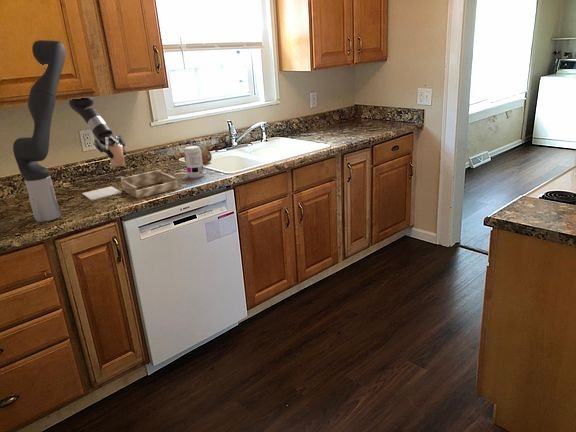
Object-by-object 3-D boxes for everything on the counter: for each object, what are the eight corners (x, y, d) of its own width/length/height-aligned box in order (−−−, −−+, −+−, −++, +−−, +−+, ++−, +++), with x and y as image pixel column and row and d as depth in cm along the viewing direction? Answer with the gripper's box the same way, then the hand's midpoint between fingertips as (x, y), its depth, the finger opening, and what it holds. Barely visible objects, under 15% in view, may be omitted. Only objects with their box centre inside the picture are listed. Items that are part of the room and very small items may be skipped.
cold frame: (137, 198, 203) (135, 185, 201) (123, 190, 216) (120, 178, 214) (178, 188, 214) (176, 175, 212) (162, 180, 228) (160, 169, 225)
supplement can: (185, 178, 230) (180, 149, 224) (192, 173, 237) (188, 145, 232) (199, 178, 227) (195, 149, 222) (206, 173, 235) (203, 145, 229)
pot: (115, 166, 207) (112, 147, 203) (108, 164, 210) (105, 145, 207) (127, 164, 211) (124, 145, 207) (120, 162, 214) (117, 143, 211)
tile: (91, 200, 204) (91, 199, 204) (82, 194, 214) (82, 193, 214) (122, 193, 212) (121, 192, 212) (111, 187, 222) (111, 186, 222)
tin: (185, 166, 252) (183, 152, 249) (185, 165, 255) (183, 150, 252) (212, 163, 256) (210, 148, 253) (211, 162, 258) (210, 147, 255)
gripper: (87, 125, 203) (107, 154, 200) (115, 120, 214) (134, 147, 211) (83, 136, 208) (102, 164, 205) (111, 131, 218) (129, 157, 216)
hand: (118, 155), depth 208 cm, fingers closed on pot, 6 cm apart
